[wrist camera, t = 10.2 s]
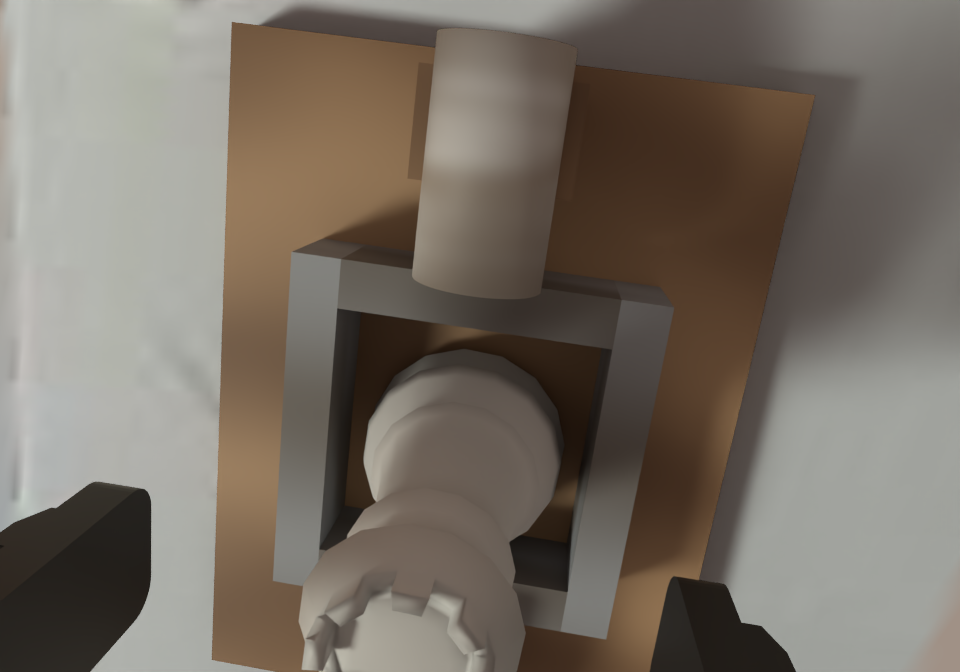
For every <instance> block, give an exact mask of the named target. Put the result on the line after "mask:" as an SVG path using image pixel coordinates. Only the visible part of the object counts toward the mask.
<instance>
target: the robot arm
mask: <svg viewBox="0 0 960 672" xmlns="http://www.w3.org/2000/svg"><path fill="white" fill-rule="evenodd" d="M150 581H151V500H150V496H149V494H148V492H147V491H146V490H144V489H140V488H134V487H128V486H122V485H116V484H109V483H103V482H93V483H91V484H89V485H88V486H86V487H85V488H83V489H82V490H81V491H79V492H78V493H77V494H75V495H74V496H72V497H71V498H70V499H68V500H67V501H66V502H64V503H63V504H61V505H60V506H59V507H57V508H50V509H47V510H45V511H42V512H40V513H37V514H35V515H32V516H30V517H27V518H25V519H22V520H19V521H17V522H14V523H13V524H11V525H10V526H9V527H7V528H6V529H4V530H3V531H2V532H0V672H90V671H91V670H92V669H93V668H94V667H95V665H96V664H97V663H98V662H99V661H100V660H101V659H102V657H103V656H104V655H105V654H106V653H107V652H108V651H109V650H110V648H111V647H112V646H113V645H114V644H115V643H116V642H117V640H118V639H119V638H120V637H121V636H122V635H123V634H124V633H125V631H126V630H127V629H128V628H129V627H130V626H131V625H132V623H133V622H134V621H135V620H136V619H137V617H138V615H139V614H140V612H141V610H142V608H143V606H144V604H145V601H146V598H147V595H148V592H149V587H150ZM650 672H796V671H795V669H794V667H793V664H792V662H791V660H790V658H789V656H788V654H787V652H786V651H785V650H784V649H783V648H782V647H781V646H780V645H779V644H778V643H777V642H776V641H775V640H774V639H773V638H772V637H771V636H770V635H769V634H768V633H767V632H766V631H765V629H764V628H763V627H762V626H758V625H752V624H746V623H741V621H740V618H739V616H738V613H737V610H736V608H735V605H734V603H733V600H732V598H731V595H730V593H729V590H728V588H727V586H726V585H724V584H720V583H714V582H708V581H702V580H696V579H689V578H683V577H677V576H673V577H672V578H671V580H670V582H669V585H668V588H667V592H666V597H665V601H664V606H663V610H662V615H661V620H660V624H659V629H658V634H657V638H656V643H655V647H654V652H653V657H652V661H651V667H650Z"/></svg>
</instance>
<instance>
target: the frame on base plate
mask: <svg viewBox="0 0 960 672" xmlns="http://www.w3.org/2000/svg"><path fill="white" fill-rule="evenodd" d="M577 53H578V49H577V48H575V47H574V46H571V45H568V44H565V43H562V42H558V41H554V40H550V39H545V38H540V37H535V36H529V35H523V34H516V33H509V32H502V31H493V30H483V29H468V28H446V29H440V30H438V31H437V37H436V47H427V46H419V45H411V44H403V43H395V42H387V41H379V40H371V39H363V38H355V37H347V36H339V35H331V34H323V33H315V32H307V31H299V30H291V29H283V28H275V27H267V26H259V25H251V24H243V23H235V22H232V35H231V66H230V98H229V130H228V162H227V194H226V226H225V258H224V290H223V321H222V353H221V385H220V417H219V449H218V481H217V513H216V545H215V577H214V608H213V640H212V660H216V661H221V662H226V663H232V664H237V665H243V666H248V667H254V668H259V669H264V670H270V671H275V672H319V671H315V670H302V662H303V655H304V647H305V640H304V637H303V634H302V631H301V627H300V624H299V614H300V607H301V599H302V591H303V584H304V582H305V581H306V579H307V578H308V576H309V575H310V573H311V572H312V570H313V569H314V567H315V566H316V564H317V563H318V561H319V560H320V558H321V557H322V555H323V554H324V552H325V551H327V550H328V549H330V548H332V547H333V546H335V545H337V544H338V543H340V542H342V541H343V540H345V539H347V534H348V533H349V532H350V530H351V529H352V527H353V526H354V524H355V523H356V521H357V520H358V518H359V517H360V515H361V514H362V512H363V511H364V510H365V509H366V508H368V507H369V506H371V505H373V504H374V503H376V501H375V500H374V498H373V496H372V492H371V489H370V485H369V481H368V478H367V474H366V470H365V467H364V450H365V443H366V436H367V429H368V423H369V420H370V418H371V417H372V415H373V414H374V412H375V406H376V404H377V402H378V401H379V399H380V398H381V396H382V395H383V393H384V392H385V390H386V389H387V387H388V386H389V384H390V382H391V381H392V379H393V378H394V376H395V375H397V374H398V373H400V372H401V371H403V370H405V369H406V368H408V367H409V366H411V365H412V364H414V363H415V362H417V361H418V360H420V359H421V358H423V357H424V356H427V355H432V354H438V353H443V352H449V351H454V350H460V349H467V350H472V351H477V352H482V353H487V354H492V355H497V356H502V357H504V358H505V359H507V360H508V361H510V362H511V363H513V364H515V365H516V366H518V367H519V368H521V369H522V370H524V371H525V372H527V373H528V374H530V375H531V376H533V377H535V378H536V380H537V381H538V382H539V384H540V385H541V387H542V388H543V390H544V391H545V392H546V394H547V395H548V397H549V398H550V400H551V401H552V403H553V404H554V405H555V407H556V408H557V410H558V415H559V420H560V425H561V430H562V435H563V440H564V450H563V454H562V458H561V466H560V471H559V475H558V479H557V483H556V488H555V492H554V496H553V498H552V499H551V501H550V502H549V504H548V505H547V506H546V508H545V509H544V510H543V511H542V513H541V514H540V515H539V517H538V518H537V519H536V521H535V522H534V523H533V524H532V526H531V527H530V528H529V530H528V531H527V532H525V533H523V534H521V535H519V536H518V537H516V538H515V539H513V540H511V541H510V542H509V545H510V549H511V553H512V558H513V562H514V566H515V571H516V572H515V576H514V581H513V585H512V588H513V589H514V591H515V592H516V593H517V597H518V602H519V606H520V610H521V615H522V619H523V623H524V628H525V632H526V634H525V639H524V643H523V647H522V652H521V656H520V660H519V664H518V669H517V671H516V672H650V667H651V661H652V657H653V652H654V647H655V643H656V638H657V634H658V629H659V624H660V620H661V615H662V610H663V606H664V601H665V597H666V592H667V588H668V585H669V582H670V580H671V578H672V577H673V576H677V577H683V578H689V579H696V580H699V577H700V573H701V569H702V564H703V560H704V556H705V552H706V548H707V544H708V539H709V535H710V531H711V527H712V523H713V519H714V514H715V510H716V506H717V502H718V498H719V494H720V489H721V485H722V481H723V477H724V473H725V469H726V465H727V460H728V456H729V452H730V448H731V444H732V440H733V435H734V431H735V427H736V423H737V419H738V415H739V410H740V406H741V402H742V398H743V394H744V390H745V385H746V381H747V377H748V373H749V369H750V365H751V360H752V356H753V352H754V348H755V344H756V340H757V335H758V331H759V327H760V323H761V319H762V315H763V310H764V306H765V302H766V298H767V294H768V290H769V285H770V281H771V277H772V273H773V269H774V265H775V260H776V256H777V252H778V248H779V244H780V240H781V235H782V231H783V227H784V223H785V219H786V215H787V211H788V206H789V202H790V198H791V194H792V190H793V186H794V181H795V177H796V173H797V169H798V165H799V161H800V156H801V152H802V148H803V144H804V140H805V136H806V131H807V127H808V123H809V119H810V115H811V111H812V106H813V102H814V98H815V95H810V94H802V93H794V92H786V91H778V90H770V89H762V88H754V87H746V86H738V85H730V84H722V83H714V82H706V81H698V80H690V79H682V78H674V77H666V76H658V75H650V74H642V73H634V72H626V71H618V70H611V69H603V68H595V67H587V66H579V65H576V59H577Z"/></svg>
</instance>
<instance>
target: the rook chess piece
mask: <svg viewBox="0 0 960 672" xmlns="http://www.w3.org/2000/svg"><path fill="white" fill-rule="evenodd" d="M563 450H564V440H563V435H562V430H561V425H560V420H559V415H558V410H557V408H556V407H555V405H554V404H553V403H552V401H551V400H550V398H549V397H548V395H547V394H546V392H545V391H544V390H543V388H542V387H541V385H540V384H539V382H538V381H537V380H536V378H535V377H533V376H531V375H530V374H528V373H527V372H525V371H524V370H522V369H521V368H519V367H518V366H516V365H515V364H513V363H511V362H510V361H508V360H507V359H505V358H504V357H502V356H497V355H492V354H487V353H482V352H477V351H472V350H467V349H460V350H454V351H449V352H443V353H438V354H432V355H427V356H424V357H423V358H421V359H420V360H418V361H417V362H415V363H414V364H412V365H411V366H409V367H408V368H406V369H405V370H403V371H401V372H400V373H398V374H397V375H395V376H394V378H393V379H392V381H391V382H390V384H389V386H388V387H387V389H386V390H385V392H384V393H383V395H382V396H381V398H380V399H379V401H378V402H377V404H376V406H375V412H374V414H373V415H372V417H371V418H370V420H369V423H368V429H367V436H366V443H365V450H364V467H365V470H366V474H367V478H368V481H369V485H370V489H371V492H372V496H373V498H374V500H375V501H376V503H374V504H373V505H371V506H369V507H368V508H366V509H365V510H364V511H363V512H362V514H361V515H360V517H359V518H358V520H357V521H356V523H355V524H354V526H353V527H352V529H351V530H350V532H349V533H348V534H347V539H345V540H343V541H342V542H340V543H338V544H337V545H335V546H333V547H332V548H330V549H328V550H327V551H325V552H324V554H323V555H322V557H321V558H320V560H319V561H318V563H317V564H316V566H315V567H314V569H313V570H312V572H311V573H310V575H309V576H308V578H307V579H306V581H305V582H304V584H303V591H302V599H301V607H300V614H299V624H300V627H301V631H302V634H303V637H304V640H305V647H304V655H303V662H302V670H315V671H319V672H516V671H517V669H518V664H519V660H520V656H521V652H522V647H523V643H524V639H525V634H526V632H525V628H524V623H523V619H522V615H521V610H520V606H519V602H518V597H517V593H516V592H515V591H514V589H513V588H512V585H513V581H514V576H515V572H516V571H515V566H514V562H513V558H512V553H511V549H510V545H509V542H510V541H511V540H513V539H515V538H516V537H518V536H519V535H521V534H523V533H525V532H527V531H528V530H529V528H530V527H531V526H532V524H533V523H534V522H535V521H536V519H537V518H538V517H539V515H540V514H541V513H542V511H543V510H544V509H545V508H546V506H547V505H548V504H549V502H550V501H551V499H552V498H553V496H554V492H555V488H556V483H557V479H558V475H559V471H560V466H561V458H562V454H563Z"/></svg>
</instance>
